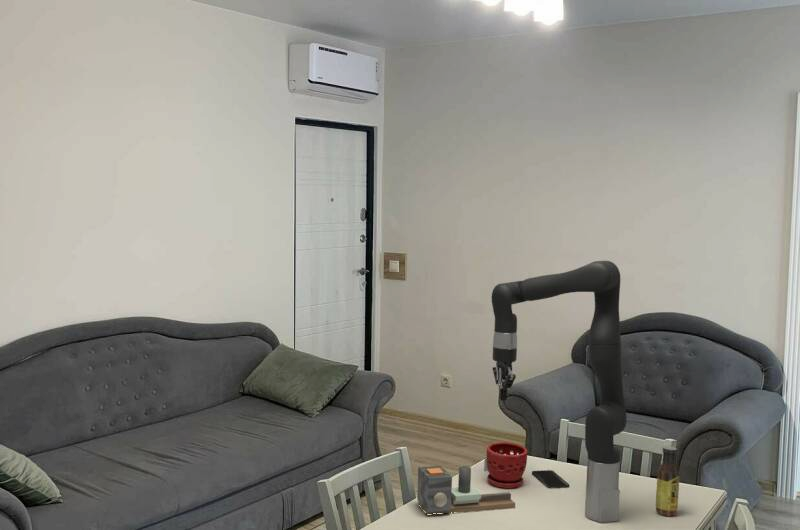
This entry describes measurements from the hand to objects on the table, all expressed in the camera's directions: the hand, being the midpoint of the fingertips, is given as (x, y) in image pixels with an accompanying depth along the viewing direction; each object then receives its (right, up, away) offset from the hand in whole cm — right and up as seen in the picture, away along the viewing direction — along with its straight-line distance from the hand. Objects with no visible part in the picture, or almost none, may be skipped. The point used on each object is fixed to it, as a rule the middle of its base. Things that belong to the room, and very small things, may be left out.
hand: (502, 399), depth 259 cm
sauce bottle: (+47, -32, -14) cm, 59 cm away
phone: (+17, -29, +12) cm, 36 cm away
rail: (-13, -30, -14) cm, 35 cm away
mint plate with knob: (-13, -28, -14) cm, 34 cm away
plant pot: (+2, -29, +7) cm, 30 cm away
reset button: (-22, -21, -18) cm, 35 cm away
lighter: (0, -28, +20) cm, 34 cm away
